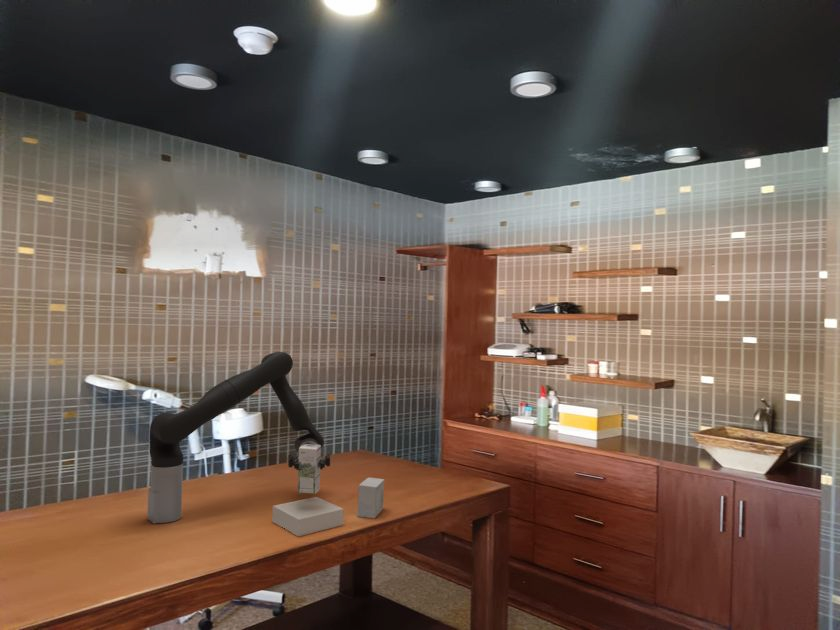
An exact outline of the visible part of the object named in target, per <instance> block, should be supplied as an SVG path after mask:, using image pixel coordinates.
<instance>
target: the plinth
mask: <svg viewBox="0 0 840 630" xmlns="http://www.w3.org/2000/svg"><path fill="white" fill-rule="evenodd" d="M271 520H272V523H274V524H276V525H278V526H279V527H280V528H282V527H283V529H284V528H285V529H284V530H285V531H287V532H289V531H290V533H291V534H293V535H294V536H297V537H303V536H306V535H310V534H312V533H317V532H322V531H325V530H328V529H333V528H336V527H340V526H343V525H344V508H342V507H340V506H338V505H337V504H334V503H331V502H329V501H326V500H324V499H323V498H320V497H318V496H313V497H309V498H305V499H300V500H295V501H289V502H285V503H281V504H280V503H279V504H276V505H272V519H271Z"/></svg>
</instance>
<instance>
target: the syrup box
mask: <svg viewBox="0 0 840 630" xmlns="http://www.w3.org/2000/svg"><path fill="white" fill-rule="evenodd" d="M321 451H322V448H321V445H309V444H304V445H302V446H301V447H300V448H299V470H297V471H298V475H297V476H298V478H297V493H298V494H305V495H316V494H317V493H318V492H319V491H320V488H321V486H320V485H321V482H320V480H321V469H320V458H321V455H322V454H321V453H322V452H321Z"/></svg>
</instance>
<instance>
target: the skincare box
mask: <svg viewBox="0 0 840 630" xmlns="http://www.w3.org/2000/svg"><path fill="white" fill-rule="evenodd" d="M384 491H385V479H384V478H378V477H377V478H375V477H367V478H366V479H364V480H363V481H362V482H361V483H360V484H358V494H357V495H358V499H357V511H356V512H357V513H356V517H358V518H369V519H376V517H378V515H379V514H381V512H382V511H383V510H384Z"/></svg>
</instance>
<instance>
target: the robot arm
mask: <svg viewBox="0 0 840 630" xmlns="http://www.w3.org/2000/svg"><path fill="white" fill-rule="evenodd" d="M293 364H294V362H293V357H291V355H290V354H289V353H287V352H285V351H275V352H272V353H269V354H267V355H264V357H263V358H262V359H261V361H260V363H259V364H258V365H256V366H254V367H253V368H250V369H248V370H245V371H243V372H241V373H238V374H235V375H233V376H231V377H229V378H226V379H224V380H223V381H221V382H220V383H218V384H216V385H215V386H213V387H211V388H210V389H209V390H208V391H207V392H206V393H205V394H204V395H203V396H202V397H201V398H200V399H199V400H198V401H197V402H196V403H194V404H193V405H191V406H190V407H188V408H186V409H184V410H182V411H180V412H177V413H172V412H166V411H165V412H161V413H158V414H157V415H156V416H155V417H154V418H153V419H152V420H151V424H150V427H149V456H150V459H151V467H150V469H151V470H150V487H149V488H148V490H147V491H148V492H147V493H148V494H147V518H146V519H147V520H148V521H150V522H151V523H152V524H154V525H155V524H164V523H165V524H166V523H167V524H168V523H172V522H176V521H178V520H180V519H181V518H182V508H183V507H182V503H183V501H182V500H183V475H184V454H183V452H182V450H181V447H180V442H182V441H184V440H185V439H186V438H188V437H189V436H190V435H191V434H192V433H194V432H195V431H197V430H198V429H199V428H201V427H202V426H203V425H205V424H207V423H208V422H210V421H211V420H214V419H215V418H217V417H218V416H220V415H222V414H223V413H225V412H227V411H229V410H230V409H232V408H234V407H235V406H237V405H239V404H240V403H241V402H244V401H245V400H246V399H248V398H249V397H251V396H253V394H255V393H256V392H258V391H259V390H260V389H261V388H264V387H265V386H266V385H268V384H269V385H270V387H271V388H272V390H273V391H274V393H275V395H276V396H277V398H278V400H279V402H280V404H281V406H282V408H283V410H284V413H285V414H286V417H287V419H288V422H289V424H290V427H291V429H292V430H293V431H294V432H299V431H307V432H308V433H306V434H303V435H301V436H299V437H297V438H296V439H294V444H293V445H294V449H295V451H296V453H297V455H296V456H294V455H292V454H288V455H287V458H288V459H287V464H288V468H292V467H293V469H295V470H296V471H298V470H299V448H300V447H301V446H302V445H304V444H309V445H321V449H322V448H323V447H324V443H325V441H324V438H323V435H322V434H321V433H320V431H318V429H316V427H315V426H314V425H313V422H312V421H311V419H310V417H309V414H308V413H307V410H306V408H305V406H304V404H303V402H302V400H301V399H300V398H299V396H298V395H297V394H296V392H295V391H294V390H293V388H292V387H291V385H290V384H289V382H288V379H287V375H288V374H289V373H290V372H291V371H292V368H293V366H294V365H293ZM325 466H326V467H331V454H329V453H328V454H326V455H325V456H323V455H322V454H321V458H320V470H323V469H324V468H325Z"/></svg>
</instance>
